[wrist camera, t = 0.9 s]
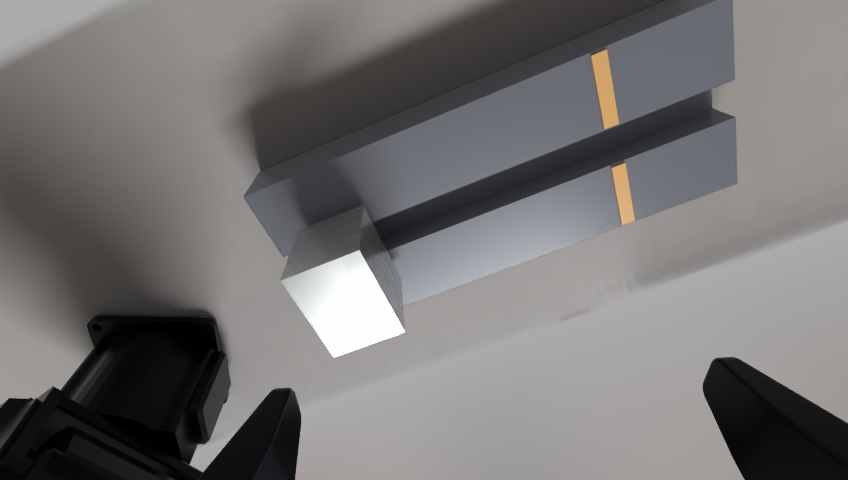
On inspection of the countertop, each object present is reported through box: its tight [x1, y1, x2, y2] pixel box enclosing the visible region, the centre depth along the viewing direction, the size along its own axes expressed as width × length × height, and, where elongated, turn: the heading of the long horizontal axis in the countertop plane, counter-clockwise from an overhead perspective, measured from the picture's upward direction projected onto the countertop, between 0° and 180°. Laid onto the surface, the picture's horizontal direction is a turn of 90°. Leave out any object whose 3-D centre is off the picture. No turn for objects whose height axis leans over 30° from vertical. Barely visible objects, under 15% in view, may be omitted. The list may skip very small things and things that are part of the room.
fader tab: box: [280, 205, 405, 357], centre depth 19 cm, size 3×4×6 cm
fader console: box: [244, 0, 737, 306], centre depth 20 cm, size 20×8×3 cm, turn 112°
